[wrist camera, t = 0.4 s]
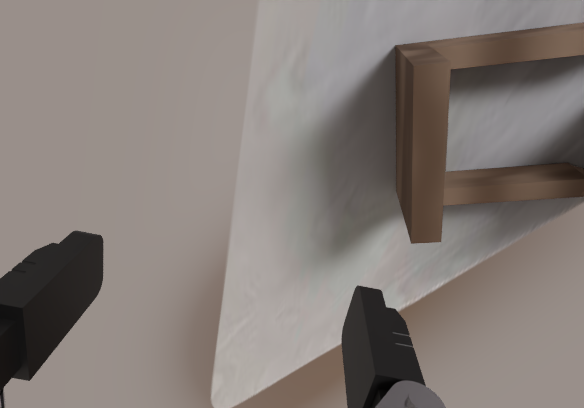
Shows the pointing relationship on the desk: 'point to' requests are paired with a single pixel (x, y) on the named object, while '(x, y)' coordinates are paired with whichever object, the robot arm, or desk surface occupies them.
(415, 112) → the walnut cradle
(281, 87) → the desk surface
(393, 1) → the desk surface
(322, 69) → the desk surface
